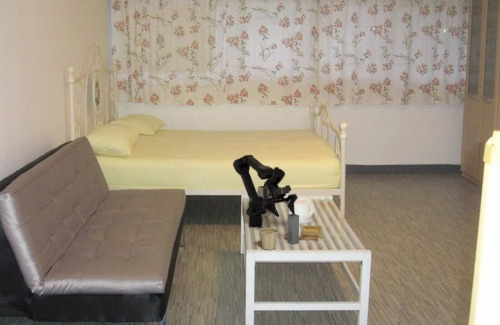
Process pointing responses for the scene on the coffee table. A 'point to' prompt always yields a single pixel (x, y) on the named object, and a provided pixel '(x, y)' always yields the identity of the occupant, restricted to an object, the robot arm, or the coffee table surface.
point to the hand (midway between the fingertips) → (286, 215)
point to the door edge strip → (306, 238)
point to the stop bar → (293, 229)
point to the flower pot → (268, 238)
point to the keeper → (312, 231)
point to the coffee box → (265, 194)
